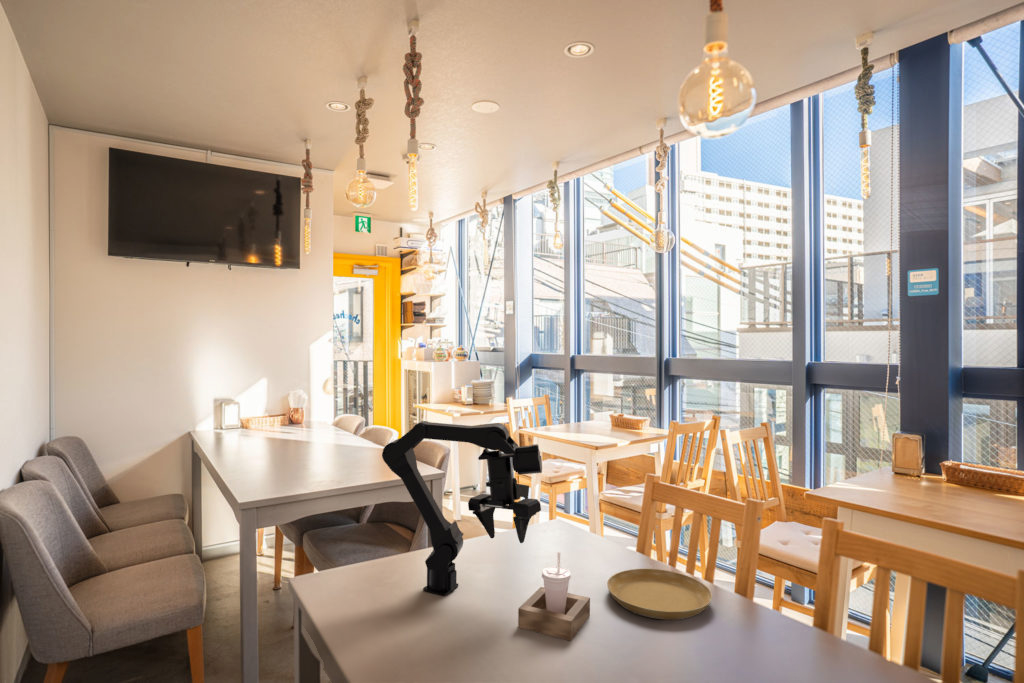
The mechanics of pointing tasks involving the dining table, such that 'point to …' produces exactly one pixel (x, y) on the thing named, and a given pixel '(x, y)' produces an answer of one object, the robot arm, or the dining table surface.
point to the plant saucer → (659, 593)
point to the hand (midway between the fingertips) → (507, 540)
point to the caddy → (554, 615)
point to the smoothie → (556, 587)
